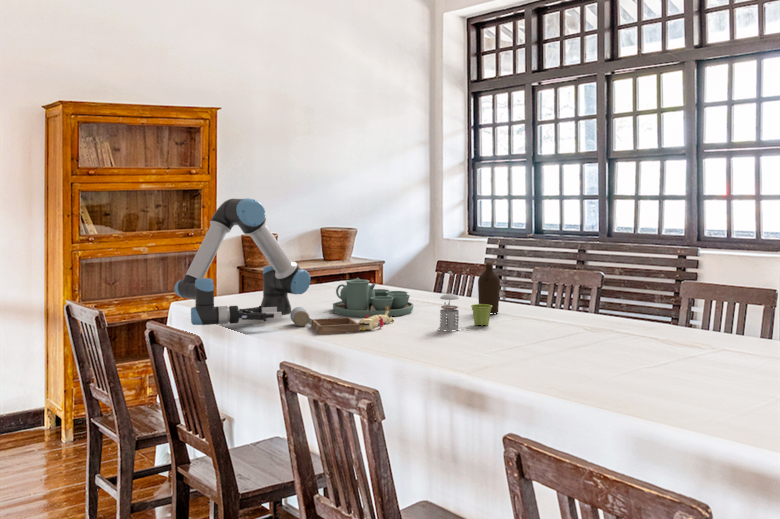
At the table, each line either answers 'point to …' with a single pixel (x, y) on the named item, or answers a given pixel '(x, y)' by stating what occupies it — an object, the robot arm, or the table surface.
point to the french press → (449, 313)
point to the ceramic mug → (300, 316)
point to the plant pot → (481, 313)
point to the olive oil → (489, 288)
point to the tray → (335, 325)
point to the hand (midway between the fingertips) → (279, 312)
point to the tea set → (370, 300)
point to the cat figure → (375, 320)
